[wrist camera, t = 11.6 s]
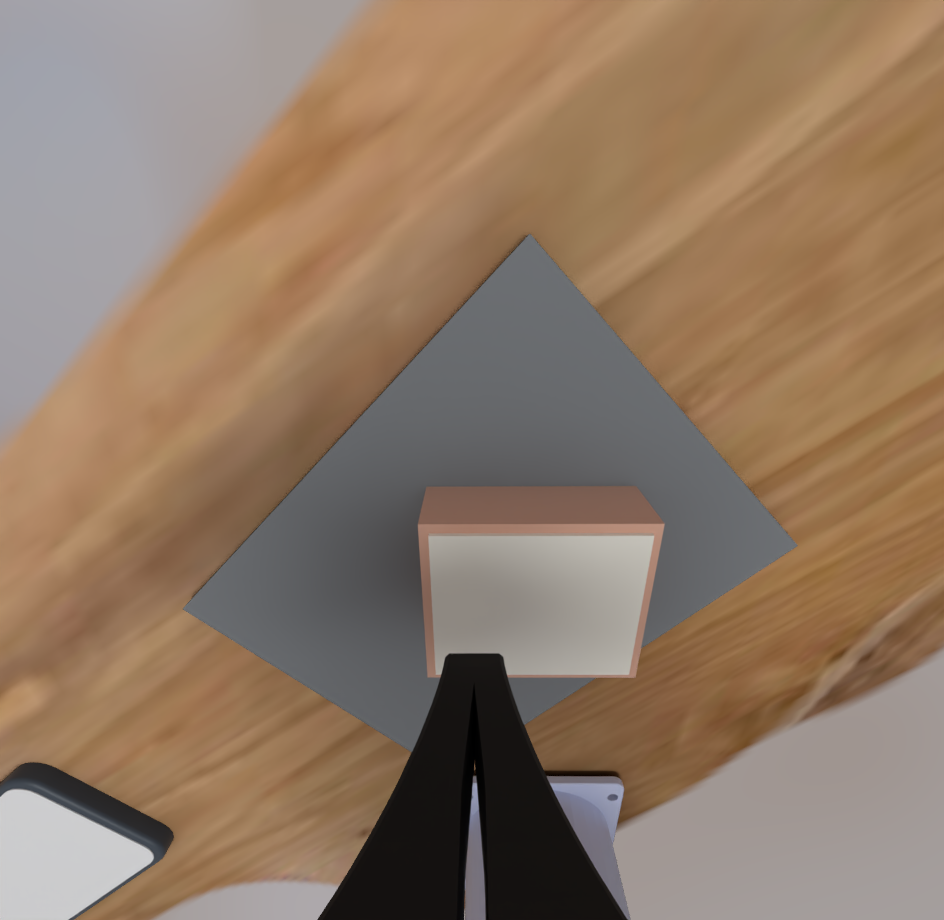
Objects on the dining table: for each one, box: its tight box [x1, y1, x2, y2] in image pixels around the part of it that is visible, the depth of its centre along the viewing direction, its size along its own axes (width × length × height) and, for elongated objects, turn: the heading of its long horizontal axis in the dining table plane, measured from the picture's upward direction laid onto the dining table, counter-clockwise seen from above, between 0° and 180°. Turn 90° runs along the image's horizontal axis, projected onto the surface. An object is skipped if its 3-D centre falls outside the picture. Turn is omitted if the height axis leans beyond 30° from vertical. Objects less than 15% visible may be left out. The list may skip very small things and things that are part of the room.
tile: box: [418, 486, 665, 678], centre depth 15 cm, size 6×3×7 cm
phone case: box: [0, 763, 174, 920], centre depth 24 cm, size 9×2×16 cm
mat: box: [183, 234, 798, 752], centre depth 16 cm, size 18×14×1 cm
